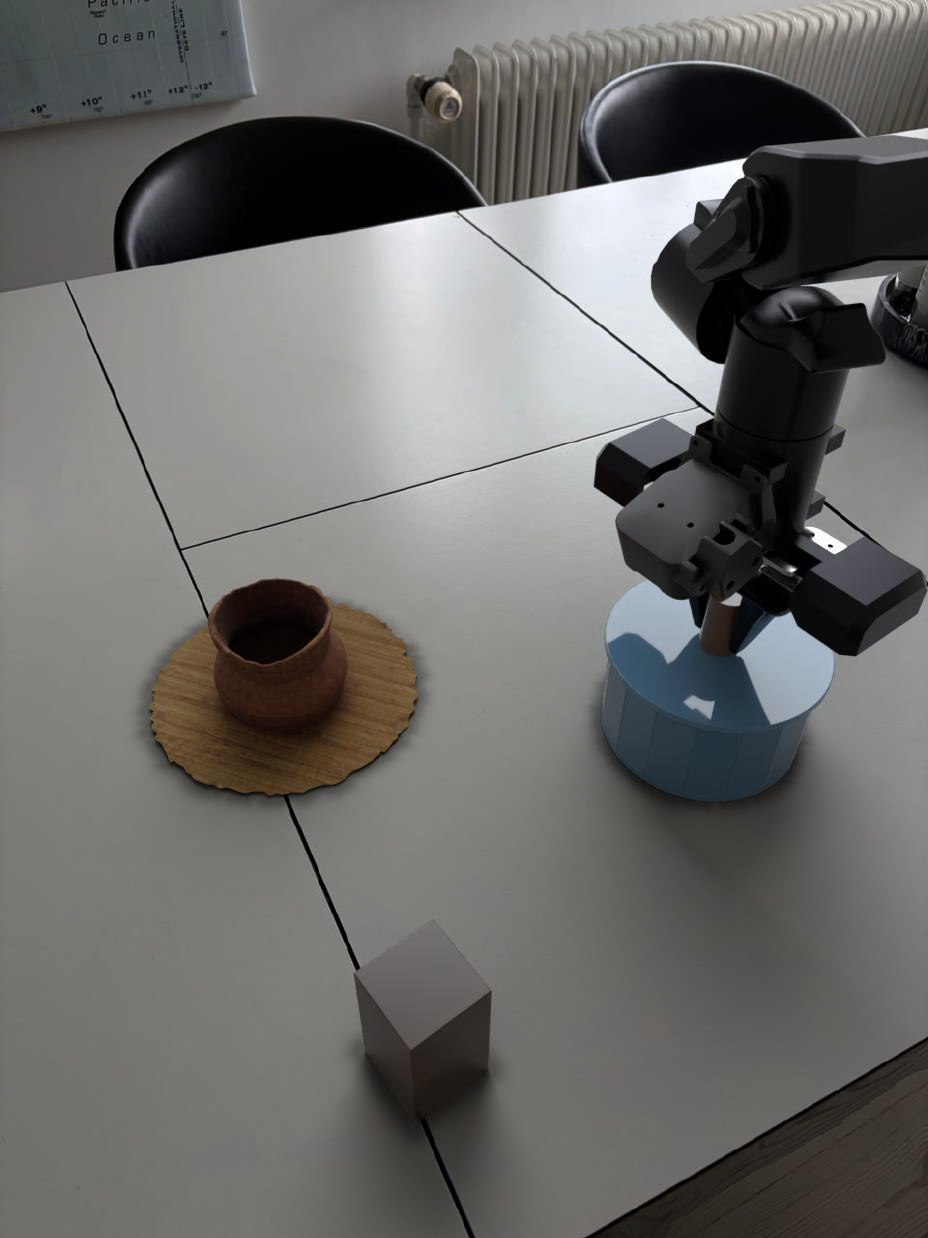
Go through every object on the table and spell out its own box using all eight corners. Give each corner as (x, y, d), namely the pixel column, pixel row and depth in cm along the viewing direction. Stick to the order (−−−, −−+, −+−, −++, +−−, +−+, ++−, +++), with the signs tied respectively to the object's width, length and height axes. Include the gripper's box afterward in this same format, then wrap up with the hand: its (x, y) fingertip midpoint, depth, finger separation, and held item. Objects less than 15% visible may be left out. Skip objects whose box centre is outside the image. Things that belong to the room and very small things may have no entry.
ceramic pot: (238, 848, 59) (218, 772, 54) (102, 679, 69) (75, 602, 64) (471, 700, 67) (473, 624, 62) (321, 569, 77) (312, 494, 72)
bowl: (837, 737, 65) (865, 667, 60) (703, 837, 59) (723, 768, 55) (693, 630, 72) (709, 560, 68) (562, 709, 67) (569, 639, 62)
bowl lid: (877, 670, 60) (903, 608, 57) (723, 780, 54) (741, 717, 51) (708, 556, 68) (721, 495, 65) (557, 640, 62) (563, 577, 59)
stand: (488, 1068, 49) (492, 990, 44) (415, 1125, 47) (410, 1051, 42) (436, 999, 52) (433, 918, 47) (364, 1051, 50) (352, 973, 45)
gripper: (529, 383, 52) (517, 608, 62) (825, 571, 41) (750, 804, 51) (680, 322, 56) (645, 540, 67) (981, 475, 46) (882, 706, 56)
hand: (719, 637), depth 60 cm, fingers closed on bowl lid, 2 cm apart
